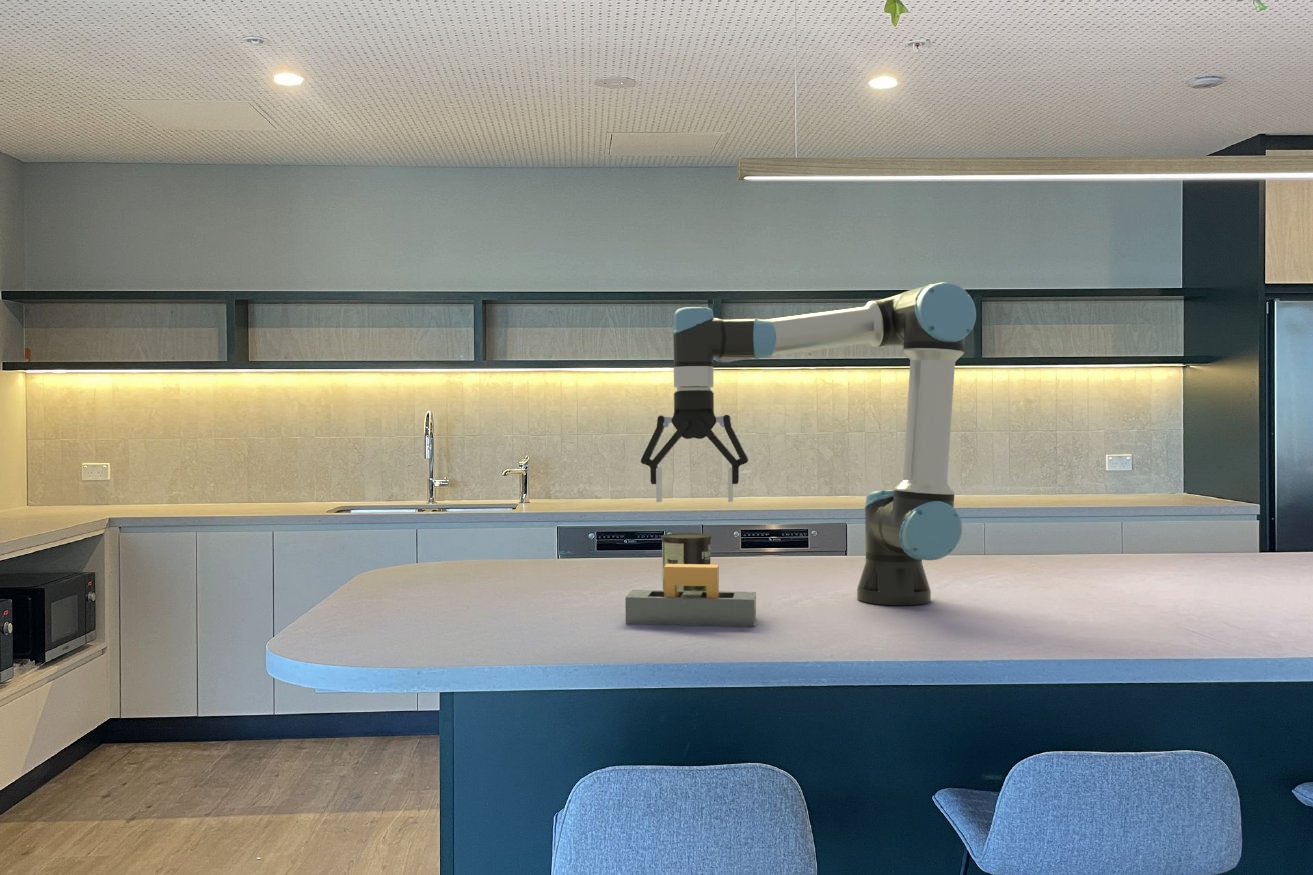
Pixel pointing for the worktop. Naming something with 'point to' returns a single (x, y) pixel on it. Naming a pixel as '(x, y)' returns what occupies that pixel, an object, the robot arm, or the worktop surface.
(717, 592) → the clip
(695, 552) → the coffee can
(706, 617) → the gray slotted block
